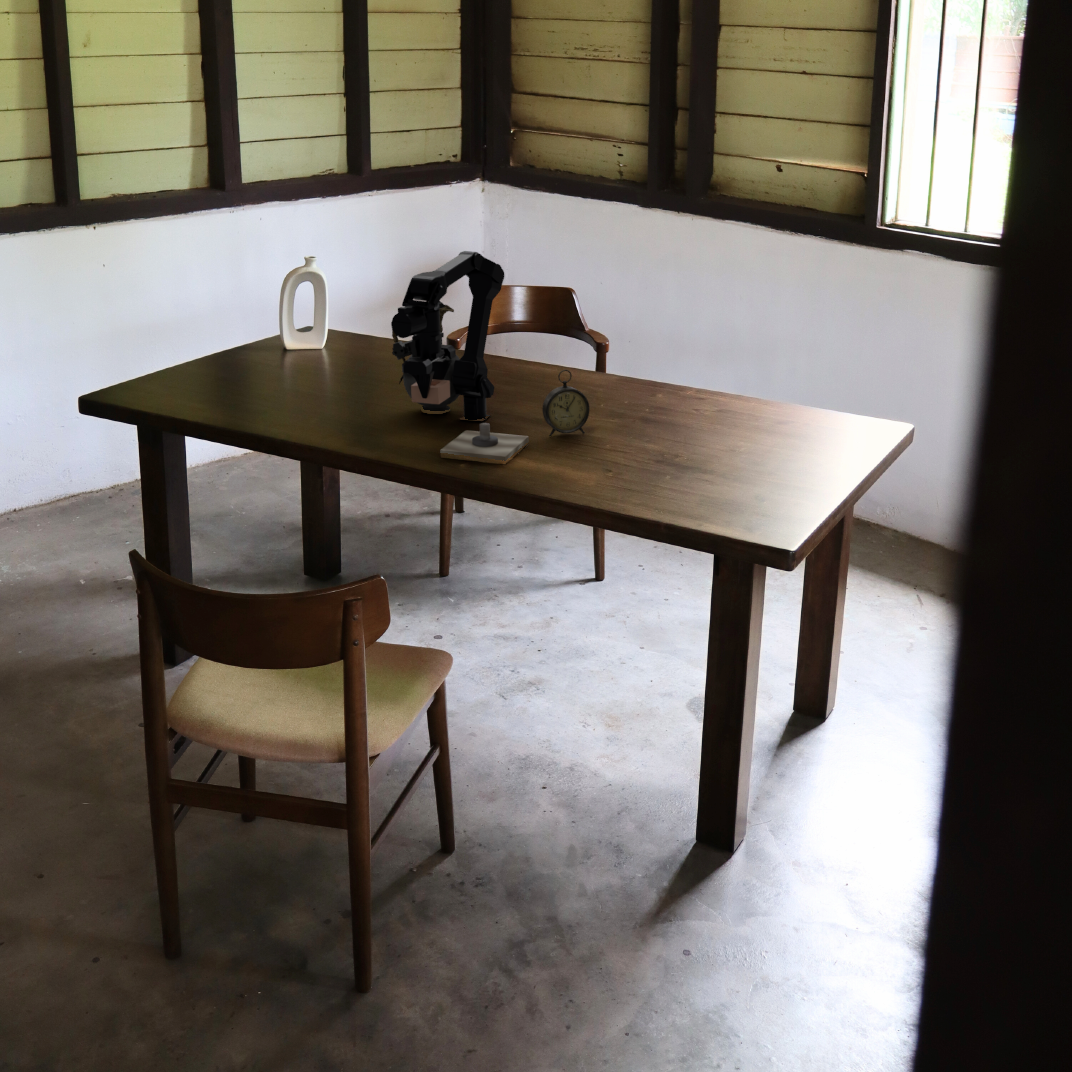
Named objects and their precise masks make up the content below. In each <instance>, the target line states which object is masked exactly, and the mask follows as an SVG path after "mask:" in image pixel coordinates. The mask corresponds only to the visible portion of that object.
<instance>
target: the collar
mask: <svg viewBox="0 0 1072 1072" xmlns="http://www.w3.org/2000/svg"><path fill="white" fill-rule="evenodd" d="M411 397H412V398H411V402H412V403H417V402H418V403H429V404H440V403H442V402H443V401H445V400H446V399H447V398H449V397H450V381H449V380H437V379H432V382H431V386H430V390H429V393H428V397H427V398H422V395H421V393H420V390H419V387H418V385H417V382H416V383H414V384H413V385H411ZM418 403H417V404H418Z"/></svg>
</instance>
